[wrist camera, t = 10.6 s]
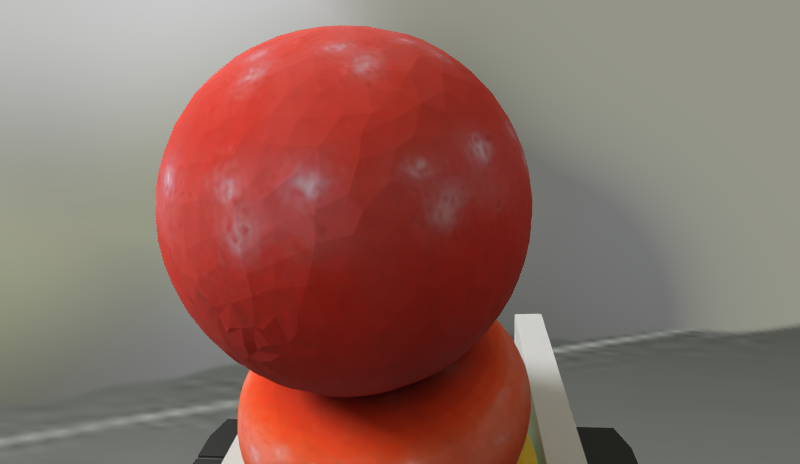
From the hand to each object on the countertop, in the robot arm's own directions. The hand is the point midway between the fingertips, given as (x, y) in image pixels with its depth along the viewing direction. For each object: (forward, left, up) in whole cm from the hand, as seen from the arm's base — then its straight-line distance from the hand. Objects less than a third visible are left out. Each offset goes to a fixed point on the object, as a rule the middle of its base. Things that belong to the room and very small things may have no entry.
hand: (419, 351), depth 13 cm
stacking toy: (-3, +4, -10) cm, 11 cm away
